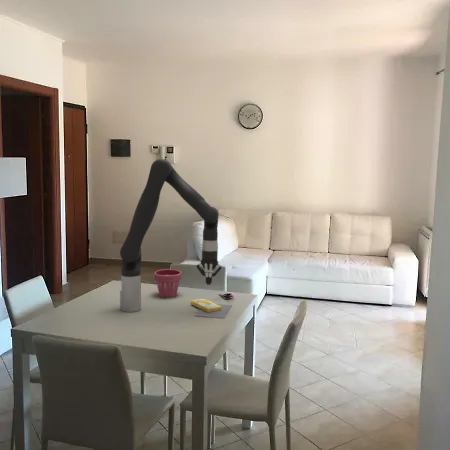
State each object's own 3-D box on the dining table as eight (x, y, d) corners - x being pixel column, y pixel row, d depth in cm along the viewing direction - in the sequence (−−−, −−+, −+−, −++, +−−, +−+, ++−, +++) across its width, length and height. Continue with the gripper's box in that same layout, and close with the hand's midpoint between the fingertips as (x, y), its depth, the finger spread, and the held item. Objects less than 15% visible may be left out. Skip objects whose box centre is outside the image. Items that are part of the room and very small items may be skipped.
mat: (194, 316, 236) (194, 315, 236) (204, 303, 256) (204, 303, 256) (224, 318, 234) (224, 317, 233) (231, 305, 253) (231, 305, 253)
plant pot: (175, 300, 261) (175, 276, 259) (150, 297, 265) (150, 274, 263) (185, 293, 274) (185, 270, 273) (161, 290, 278) (161, 268, 276)
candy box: (207, 313, 240) (221, 310, 245) (207, 308, 240) (221, 305, 244) (190, 304, 253) (204, 301, 258) (190, 300, 253) (204, 297, 258)
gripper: (194, 249, 238) (193, 285, 241) (221, 251, 236) (220, 287, 238) (198, 246, 245) (197, 281, 248) (224, 248, 243) (223, 283, 245)
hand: (208, 284), depth 243 cm, fingers closed
